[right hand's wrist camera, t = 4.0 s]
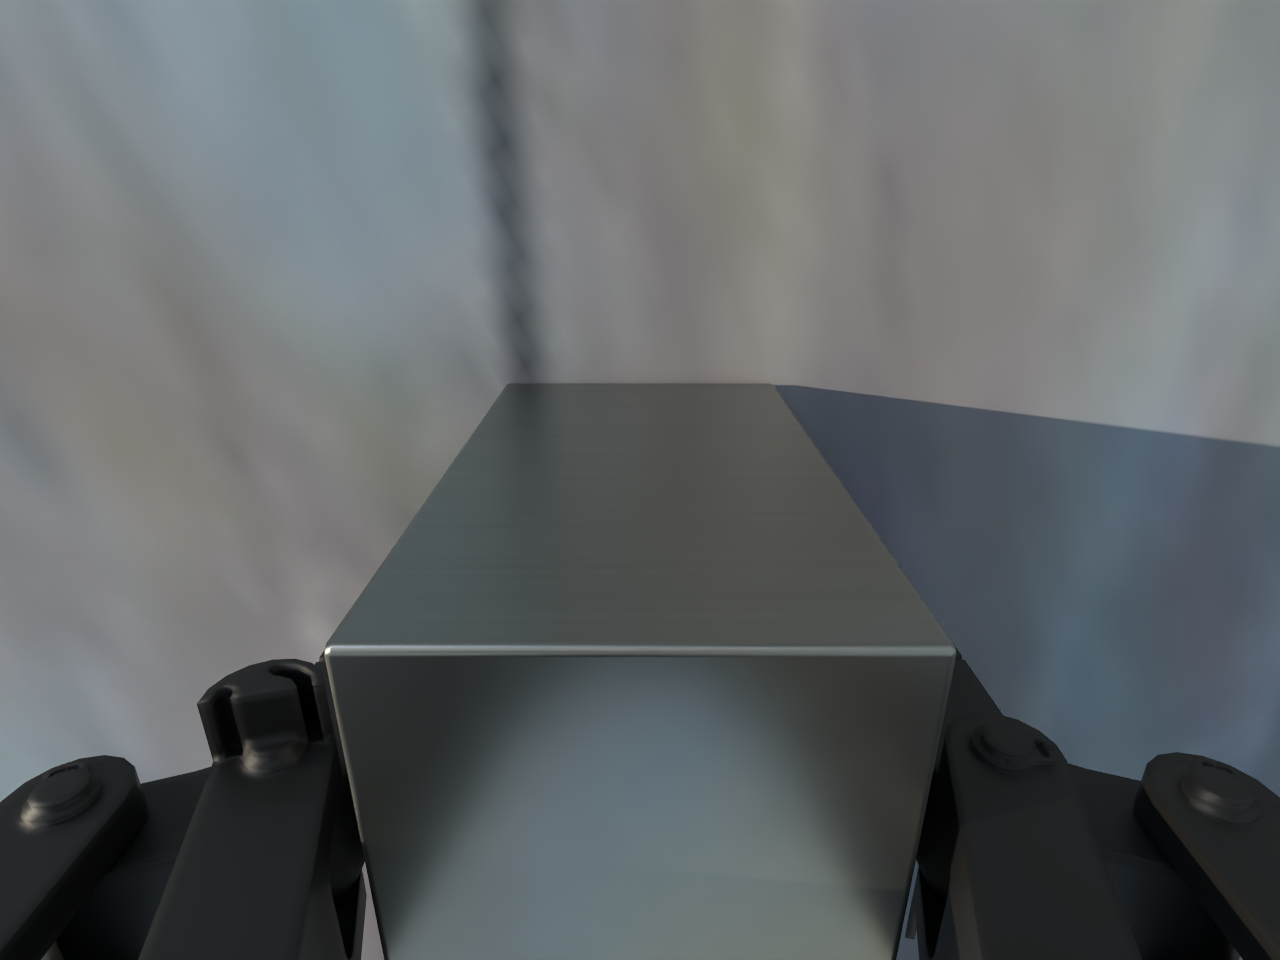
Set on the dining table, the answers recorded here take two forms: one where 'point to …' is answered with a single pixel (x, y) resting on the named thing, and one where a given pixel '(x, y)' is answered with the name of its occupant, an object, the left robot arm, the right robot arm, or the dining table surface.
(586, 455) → the bar
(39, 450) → the dining table surface
